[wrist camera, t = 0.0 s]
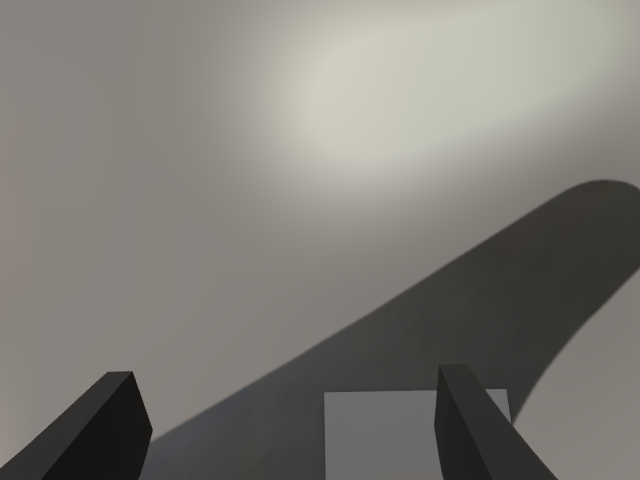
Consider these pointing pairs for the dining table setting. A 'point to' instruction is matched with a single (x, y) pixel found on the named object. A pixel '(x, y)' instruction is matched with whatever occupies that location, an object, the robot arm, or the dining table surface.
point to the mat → (385, 434)
